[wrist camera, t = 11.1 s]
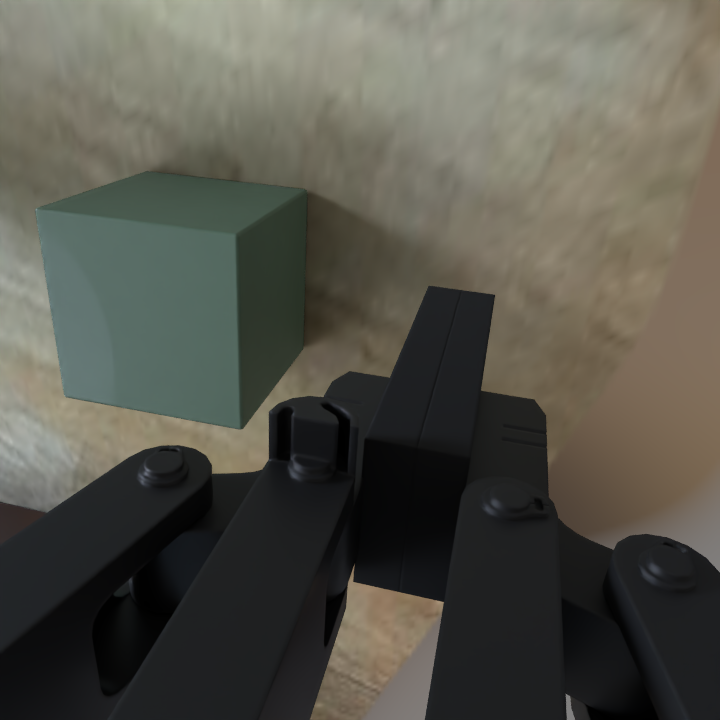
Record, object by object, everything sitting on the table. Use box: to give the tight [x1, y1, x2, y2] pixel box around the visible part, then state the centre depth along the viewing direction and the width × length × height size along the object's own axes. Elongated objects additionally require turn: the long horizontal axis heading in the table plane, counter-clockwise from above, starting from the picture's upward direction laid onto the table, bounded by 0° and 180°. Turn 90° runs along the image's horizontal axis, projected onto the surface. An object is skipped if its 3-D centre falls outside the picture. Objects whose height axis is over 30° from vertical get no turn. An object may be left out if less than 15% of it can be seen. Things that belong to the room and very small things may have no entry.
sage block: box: [35, 171, 307, 429], centre depth 18 cm, size 5×5×5 cm
